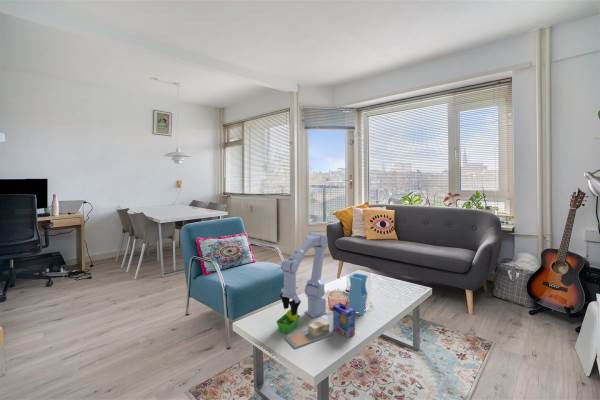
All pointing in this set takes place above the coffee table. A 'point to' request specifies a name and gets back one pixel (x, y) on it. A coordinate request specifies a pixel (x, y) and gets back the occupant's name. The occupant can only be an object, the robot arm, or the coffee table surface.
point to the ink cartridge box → (344, 319)
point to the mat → (305, 338)
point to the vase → (358, 293)
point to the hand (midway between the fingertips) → (290, 311)
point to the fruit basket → (288, 322)
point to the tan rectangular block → (318, 328)
